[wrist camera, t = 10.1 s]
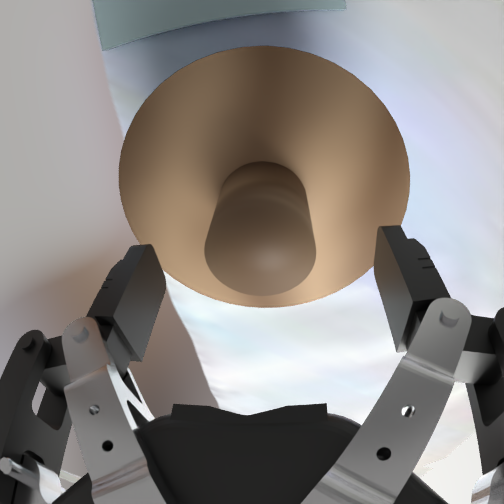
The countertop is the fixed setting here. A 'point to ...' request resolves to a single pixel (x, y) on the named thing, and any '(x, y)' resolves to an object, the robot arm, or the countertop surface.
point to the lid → (263, 176)
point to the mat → (184, 15)
